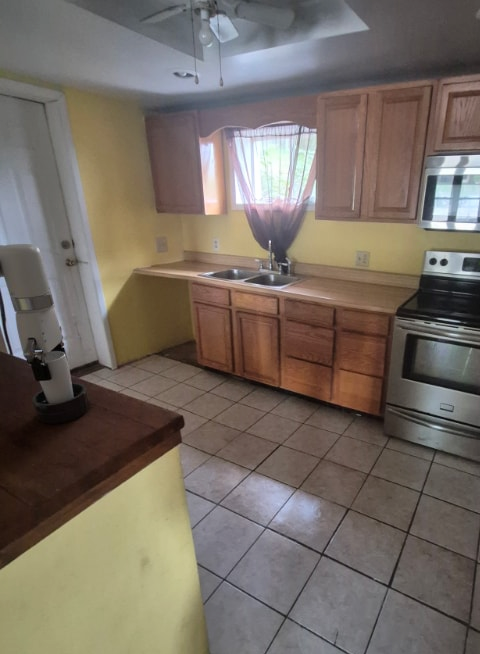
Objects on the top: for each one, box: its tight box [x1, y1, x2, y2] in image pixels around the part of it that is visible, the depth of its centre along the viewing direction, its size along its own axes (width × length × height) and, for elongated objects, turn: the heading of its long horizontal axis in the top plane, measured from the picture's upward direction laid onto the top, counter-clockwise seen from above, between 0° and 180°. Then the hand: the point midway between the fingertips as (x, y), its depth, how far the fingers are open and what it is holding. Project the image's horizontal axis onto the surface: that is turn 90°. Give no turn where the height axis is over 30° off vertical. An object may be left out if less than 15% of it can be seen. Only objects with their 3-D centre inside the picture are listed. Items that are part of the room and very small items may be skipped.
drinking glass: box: [35, 351, 74, 404], centre depth 91 cm, size 7×7×15 cm
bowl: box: [31, 382, 90, 425], centre depth 93 cm, size 11×11×6 cm
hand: (52, 370), depth 89 cm, fingers open, 9 cm apart
